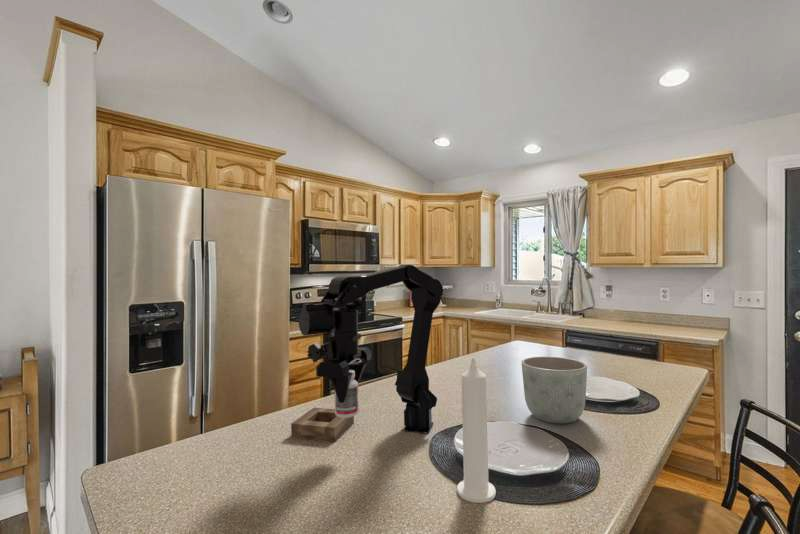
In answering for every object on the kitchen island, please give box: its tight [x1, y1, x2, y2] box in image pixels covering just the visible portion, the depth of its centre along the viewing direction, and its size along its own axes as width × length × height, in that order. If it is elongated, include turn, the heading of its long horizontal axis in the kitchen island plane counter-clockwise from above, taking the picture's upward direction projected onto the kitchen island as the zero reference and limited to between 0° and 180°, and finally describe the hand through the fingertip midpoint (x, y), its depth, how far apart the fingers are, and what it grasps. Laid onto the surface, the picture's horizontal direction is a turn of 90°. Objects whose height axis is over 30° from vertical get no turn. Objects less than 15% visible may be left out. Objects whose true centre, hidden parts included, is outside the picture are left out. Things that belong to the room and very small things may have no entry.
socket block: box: [290, 407, 355, 443], centre depth 104 cm, size 12×12×4 cm
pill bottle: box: [334, 370, 359, 418], centre depth 91 cm, size 5×5×10 cm
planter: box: [520, 355, 588, 425], centre depth 109 cm, size 17×17×15 cm
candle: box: [456, 357, 497, 504], centre depth 73 cm, size 7×7×25 cm
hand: (346, 398), depth 91 cm, fingers closed on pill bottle, 5 cm apart
